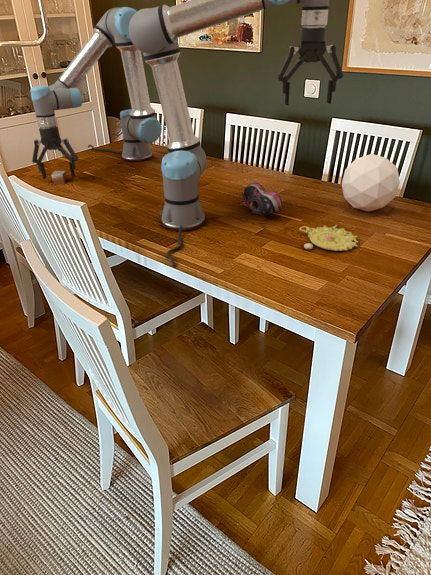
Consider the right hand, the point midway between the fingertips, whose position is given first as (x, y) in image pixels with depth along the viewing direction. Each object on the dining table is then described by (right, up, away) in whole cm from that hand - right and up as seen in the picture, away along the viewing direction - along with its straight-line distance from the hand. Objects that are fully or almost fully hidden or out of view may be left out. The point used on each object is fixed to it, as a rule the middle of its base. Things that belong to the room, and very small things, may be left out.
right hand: (307, 103), depth 142 cm
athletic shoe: (-14, -31, +21) cm, 40 cm away
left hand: (-99, -10, +54) cm, 113 cm away
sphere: (+26, -30, +20) cm, 44 cm away
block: (-99, -12, +54) cm, 113 cm away
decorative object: (+7, -44, 0) cm, 44 cm away
